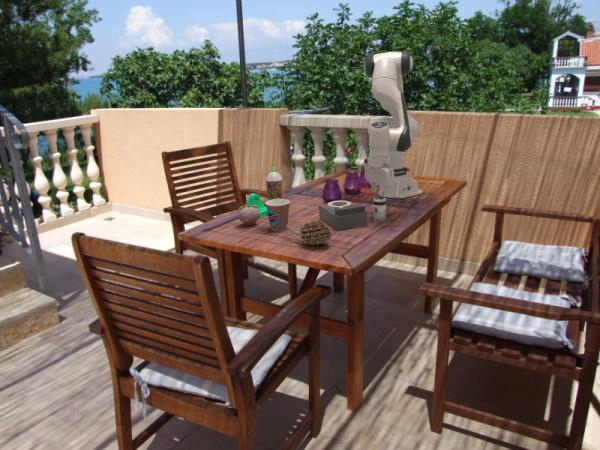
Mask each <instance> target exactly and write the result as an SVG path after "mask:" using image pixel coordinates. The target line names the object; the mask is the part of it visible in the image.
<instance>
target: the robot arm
mask: <svg viewBox="0 0 600 450" xmlns="http://www.w3.org/2000/svg"><path fill="white" fill-rule="evenodd" d="M413 67H414V59H413V57H412V53H410V52H408V51H404V50H403V51H387V52H381V53H376V54H375V53H372V54H369V55H367V56H366V58H365V61H364V65H363V69H364V72H365V74H366V76H367V77H369V78H372V79H371V94H372V97H374V100H376V101H377V102H379V103H380V106H381V108H382V109H383V110H384V111H387V112H388V113H389V114H390V116H391V117H377V118H376V117H375V118H372V119H371V120H370V121H369V122H368V125H367V133H368V134H367V147H368V148H369V152H368V157H366V158H364V159H363V164H364V177H365V179H366V181H369V185H370V187H371V192H374V193H376V192H377V191H378V195H379V197H386V198H393V199H394V198H396V199H404V198H409V197H413V196H417V195H422V194H423V190H422V189H420V188H419V184H418V182H417V180H416V179H415V178H413V177H412V176H410V175H409V174H408V173H410V172H411V168H410V167H406V166H404V165H405V163H404V162H405V158H404V157H405V154H404V153H405V152H407V151H408V150H410V149H411V147H412V144H413V140H414V139H415V138H416V137H417V136H418V134H419V131H420V126H419V123H418V122H417V120H416V119H415V118H414V117H412V115H410V113H409V112H408V108H407V103H406V98H405V97H406V96H405V94H404V81H403V78H405V77H406V76H407V75H410V73H411V72H412V69H413ZM376 184H377V185H379V190H378V188H377V185H376Z"/></svg>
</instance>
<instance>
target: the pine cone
mask: <svg viewBox="0 0 600 450" xmlns="http://www.w3.org/2000/svg"><path fill="white" fill-rule="evenodd" d="M329 226H330V225H328V226H327V225H326V224H325V222H324V221H323V222H322V220H321V219H316V220H312V221H310V222H305V223H304V224H303V226H301V227H300V229H299V231H297V230H296V229H293V228H292V227H291V226H290V225H289V224H288V225H287V226H286V227H287V229H286V230H288V231H290V232H291V233H292V234H294V235H296V236H300V239H301V240H302V241H303V243H304V244H306V245H307V244H308V245H313V246H315V244H316V245H317V246H319V245H321V244H324V245H325V244H327V243H328V241H330V240H331V239H332V238H333V231H332V230H331V229H330V227H329Z"/></svg>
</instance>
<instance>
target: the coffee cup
mask: <svg viewBox="0 0 600 450" xmlns="http://www.w3.org/2000/svg"><path fill="white" fill-rule="evenodd" d="M290 202H291V201H290V200H289V199H285V198H282V199H273V200H269V201H268V200H266V201H265V204H264V205H265V207H267V212H268V214H267V217H268V221H269V222H268V223H269V226H270V229H271V231H272V232H277V231H278V232H284V230H285V231H287V230H288V229H287V227H286V226H287V225H288V226H289V213H290V211H289V210H290Z"/></svg>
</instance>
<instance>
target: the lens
mask: <svg viewBox="0 0 600 450" xmlns="http://www.w3.org/2000/svg"><path fill="white" fill-rule="evenodd" d="M372 204H373V208H372V209H373V222H375V223H384V222H387V197H383V196H375V197H373V200H372Z"/></svg>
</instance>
